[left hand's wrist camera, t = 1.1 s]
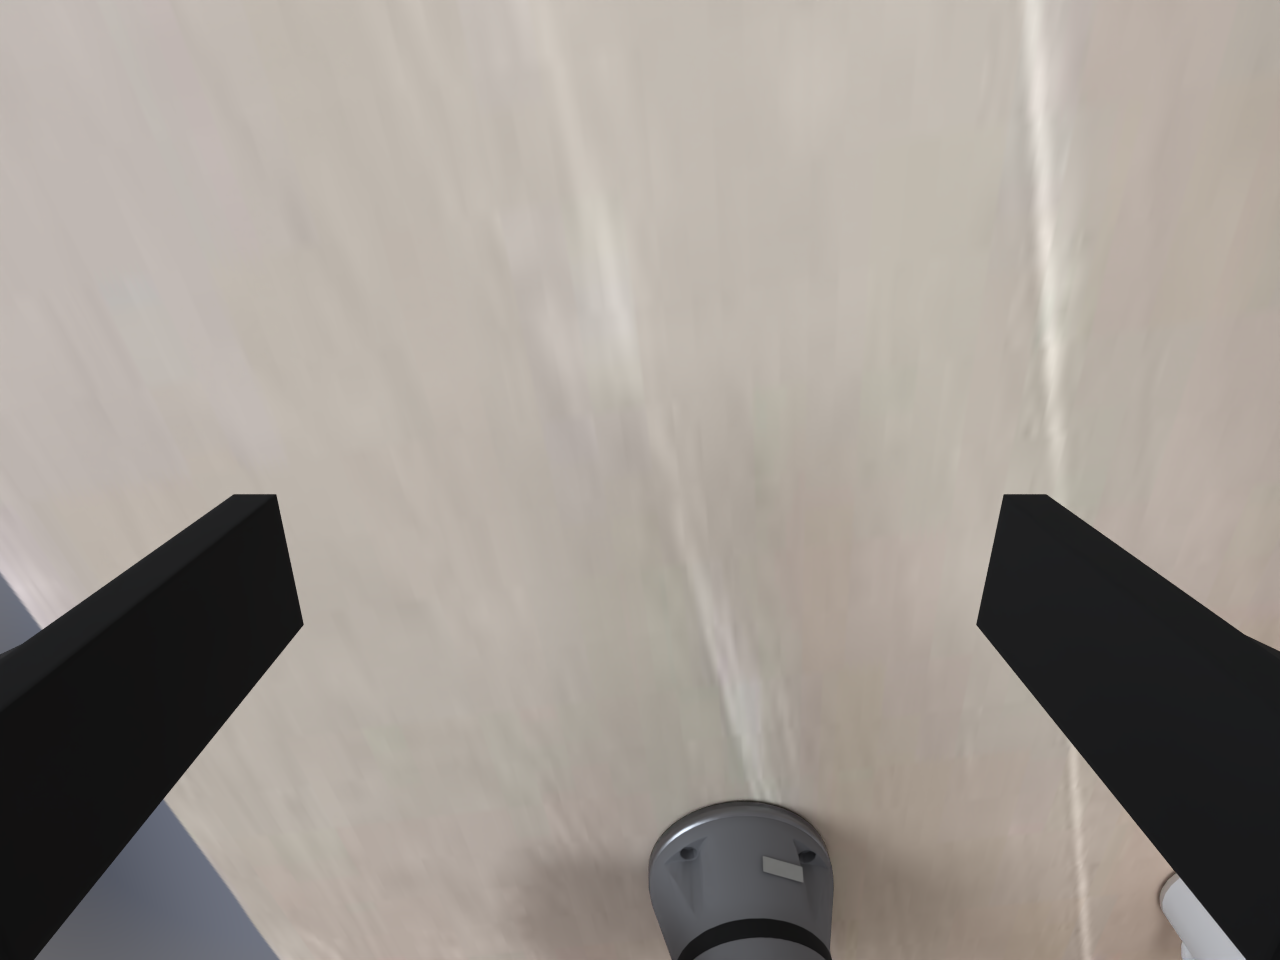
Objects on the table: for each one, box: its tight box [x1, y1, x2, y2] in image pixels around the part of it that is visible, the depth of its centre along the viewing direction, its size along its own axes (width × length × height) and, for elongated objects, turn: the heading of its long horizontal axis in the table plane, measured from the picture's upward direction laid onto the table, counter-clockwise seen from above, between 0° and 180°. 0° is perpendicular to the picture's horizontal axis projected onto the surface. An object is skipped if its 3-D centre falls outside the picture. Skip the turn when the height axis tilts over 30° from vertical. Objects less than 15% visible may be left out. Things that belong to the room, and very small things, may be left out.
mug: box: [1160, 873, 1246, 960], centre depth 55 cm, size 11×9×10 cm
